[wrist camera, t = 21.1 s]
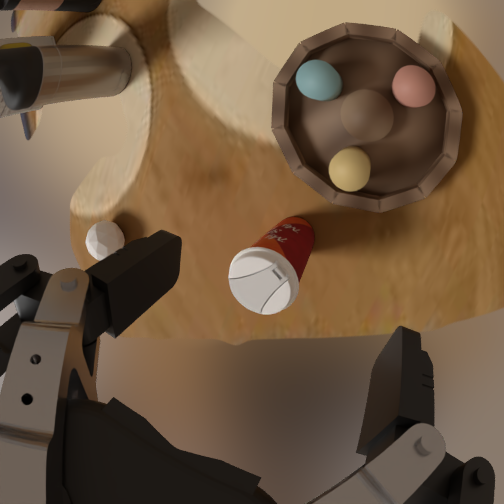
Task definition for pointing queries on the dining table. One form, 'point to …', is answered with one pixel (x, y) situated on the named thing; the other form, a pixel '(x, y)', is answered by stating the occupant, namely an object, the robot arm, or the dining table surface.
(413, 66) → the pink rounded piece
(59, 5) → the travel mug
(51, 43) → the supplement box
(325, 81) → the pale blue rounded piece
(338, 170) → the ochre bead
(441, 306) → the dining table surface
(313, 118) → the walnut tray
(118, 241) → the geometric ball
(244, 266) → the paper cup
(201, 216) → the dining table surface
